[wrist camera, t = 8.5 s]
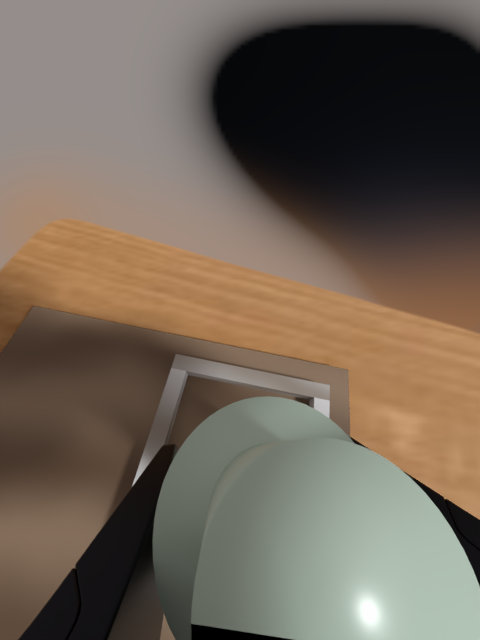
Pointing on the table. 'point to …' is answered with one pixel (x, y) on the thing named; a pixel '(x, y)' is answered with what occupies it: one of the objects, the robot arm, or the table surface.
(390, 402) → the table surface
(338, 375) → the board
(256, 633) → the bottle
